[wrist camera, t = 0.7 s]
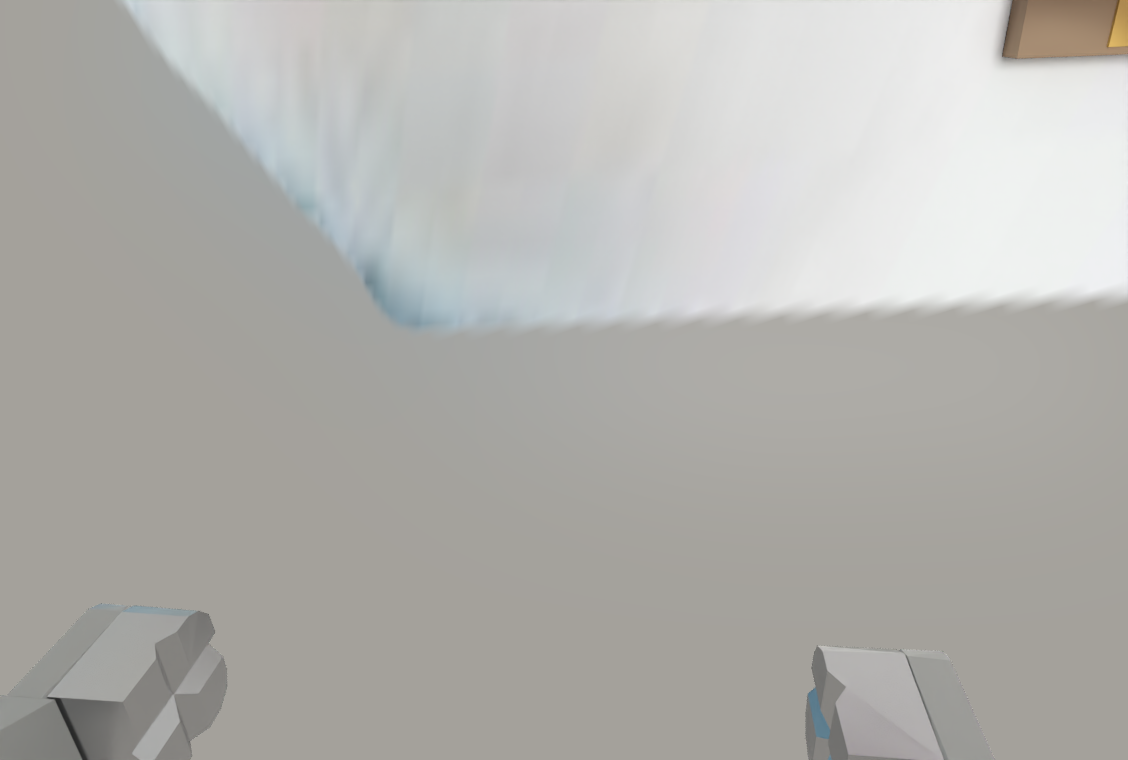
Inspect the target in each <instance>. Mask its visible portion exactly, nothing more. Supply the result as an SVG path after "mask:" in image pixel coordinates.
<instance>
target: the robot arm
mask: <svg viewBox="0 0 1128 760" xmlns="http://www.w3.org/2000/svg"><path fill="white" fill-rule="evenodd" d="M214 634H215V630H214V627H213V624H212V622H211V619H210V617H209V614H207V613H204V612H200V611H194V610H181V609H170V608H158V607H145V606H125V605H113V604H102V603H101V604H99V605H96V606H94V607H92V608H90V609H88V610H87V611H86V612H85V613H84V614H83V615H82V616H81V617H80V618H79V619H78V620H77V621H76V623H75V624H74V625H73V626H72V627H71V628H70V629H69V630H68V631H67V632H66V633H65V634H64V635H63V636H62V637H61V638H60V639H59V640H58V642H57V643H56V644H55V645H54V646H53V647H52V648H51V649H50V650H49V651H48V652H47V653H46V654H45V655H44V656H43V658H42V659H41V660H40V661H39V662H38V663H37V664H36V665H35V666H34V667H33V668H32V669H31V670H30V671H29V673H27V675H26V676H25V677H24V678H23V679H22V680H21V681H20V682H19V683H18V684H17V685H16V686H15V687H14V688H13V689H12V690H11V691H10V692H9V694H8V695H7V696H4V695H0V760H190V759H191V757H192V751H191V744H190V741H191V740H192V739H194V738H195V737H197V736H198V735H199V734H201V733H202V732H204V731H205V730H207V729H208V728H209V727H210V726H211V725H212V723H213V721H214V720H215V718H216V716H217V715H218V713H219V711H220V709H221V707H222V703H223V700H224V696H225V693H226V689H227V668H226V665H225V661H224V658H223V656H222V655H221V654H220V653H219V652H218V651H216V649H214V648H213V647H212V646H211V645H210V644H209V642H210V640H211V639H212V637H213V635H214ZM812 672H813V677H814V682H815V688H814V689H813V690H812V691H810V692H809V693H808V696H807V705H806V743H807V752H808V758H809V760H995V759H994V756H993V754H992V752H991V750H990V747H989V745H988V743H987V741H986V738H985V736H984V734H983V732H982V729H981V727H980V725H979V723H978V720H977V718H976V716H975V714H974V712H973V709H972V707H971V705H970V702H969V700H968V698H967V696H966V693H965V691H964V689H963V687H962V685H961V682H960V680H959V677H958V675H957V673H956V671H955V668H954V666H953V664H952V662H951V660H950V658H949V657H948V656H947V655H946V654H945V653H944V652H943V651H925V650H904V649H901V650H897V649H881V648H859V647H838V646H817V647H816V650H815V652H814V656H813V662H812Z"/></svg>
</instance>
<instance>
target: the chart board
mask: <svg viewBox="0 0 1128 760" xmlns="http://www.w3.org/2000/svg"><path fill="white" fill-rule="evenodd" d="M1118 54H1128V0H1013V1H1012V7H1011V12H1010V17H1009V23H1008V28H1007V34H1006V39H1005V44H1004V50H1003V55H1002V56H1004V57H1010V58H1017V59H1018V58H1043V57H1068V56H1093V55H1118Z"/></svg>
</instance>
